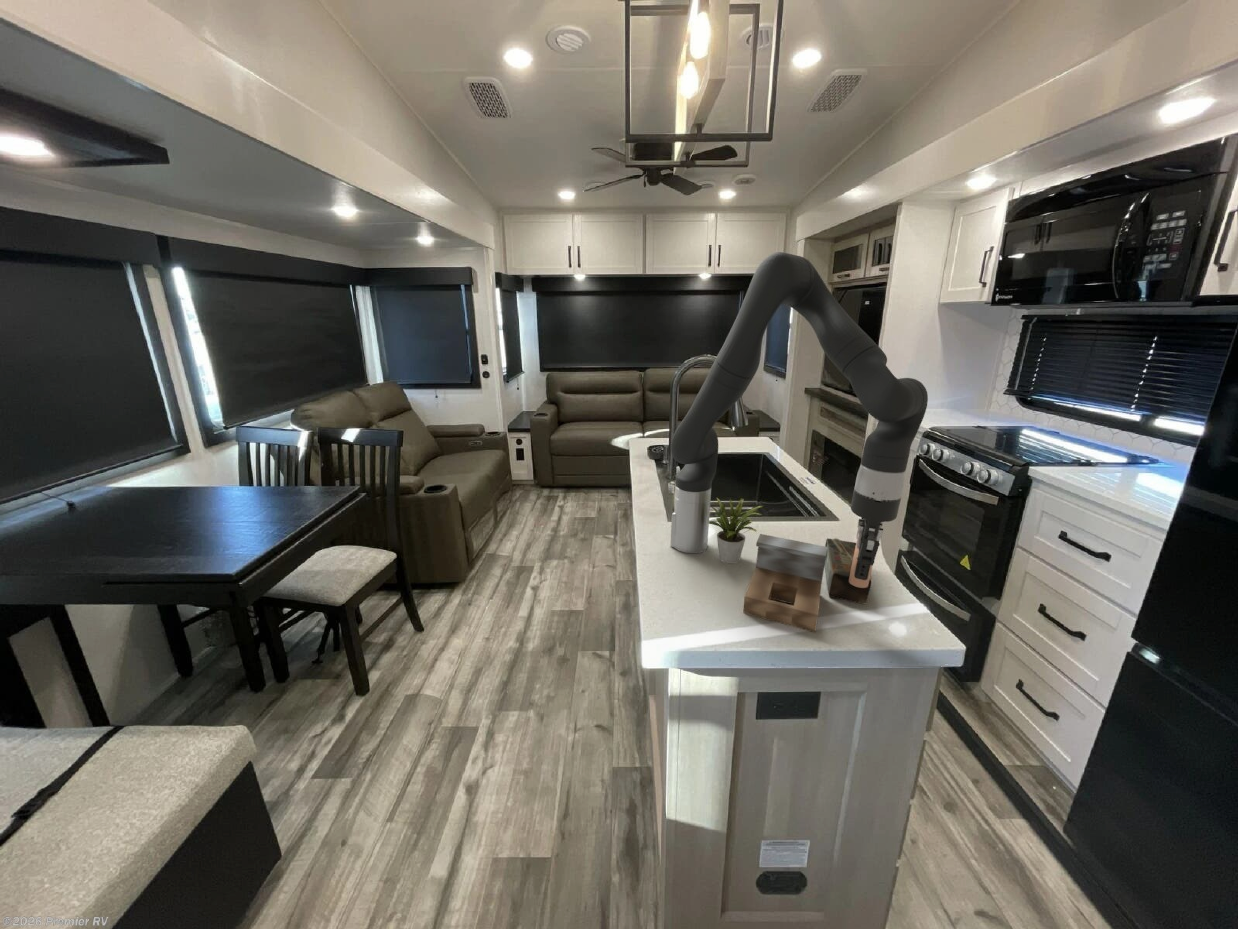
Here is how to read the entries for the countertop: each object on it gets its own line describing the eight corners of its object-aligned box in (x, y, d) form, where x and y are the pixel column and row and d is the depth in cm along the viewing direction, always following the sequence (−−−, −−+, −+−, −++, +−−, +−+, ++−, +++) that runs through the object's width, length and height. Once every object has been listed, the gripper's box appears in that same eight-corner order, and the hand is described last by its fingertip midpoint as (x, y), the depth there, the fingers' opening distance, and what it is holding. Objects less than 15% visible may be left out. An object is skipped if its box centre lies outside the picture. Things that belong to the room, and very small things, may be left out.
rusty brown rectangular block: (856, 563, 114) (860, 539, 112) (868, 606, 97) (873, 579, 95) (822, 558, 117) (825, 534, 115) (827, 599, 100) (832, 573, 98)
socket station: (742, 612, 95) (748, 561, 91) (755, 579, 107) (760, 533, 103) (815, 632, 89) (823, 578, 85) (819, 595, 101) (827, 546, 97)
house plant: (762, 578, 107) (769, 515, 102) (703, 572, 110) (707, 510, 105) (757, 550, 120) (763, 492, 115) (704, 545, 123) (708, 488, 118)
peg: (848, 585, 87) (858, 538, 84) (848, 576, 90) (857, 531, 87) (868, 589, 86) (878, 542, 83) (867, 580, 89) (877, 535, 86)
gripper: (854, 475, 89) (839, 552, 95) (854, 500, 77) (837, 586, 83) (898, 481, 86) (880, 561, 92) (905, 508, 74) (884, 598, 80)
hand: (860, 573), depth 87 cm, fingers closed on peg, 3 cm apart
